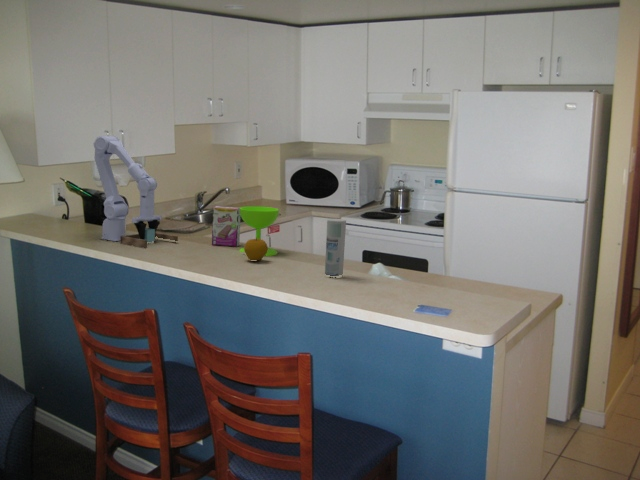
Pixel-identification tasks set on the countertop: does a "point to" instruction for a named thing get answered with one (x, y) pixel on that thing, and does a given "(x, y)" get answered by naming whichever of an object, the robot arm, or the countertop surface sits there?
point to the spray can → (335, 247)
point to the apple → (255, 249)
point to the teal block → (149, 235)
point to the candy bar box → (226, 226)
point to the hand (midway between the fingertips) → (146, 238)
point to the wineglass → (259, 221)
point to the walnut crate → (138, 242)
